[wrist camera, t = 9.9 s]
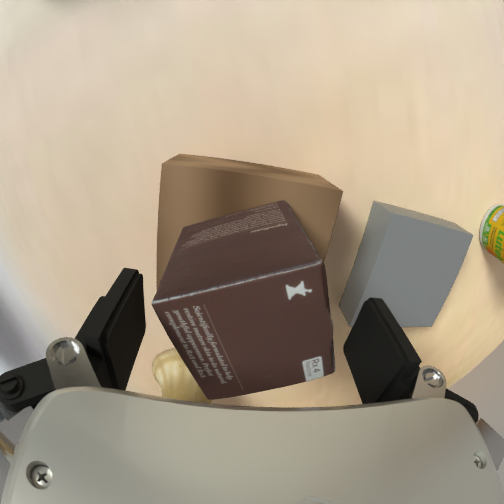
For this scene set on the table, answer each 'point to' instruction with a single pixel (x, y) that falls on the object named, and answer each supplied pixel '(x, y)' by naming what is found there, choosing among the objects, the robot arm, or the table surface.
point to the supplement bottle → (493, 231)
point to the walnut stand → (238, 198)
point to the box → (247, 303)
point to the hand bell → (176, 378)
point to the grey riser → (405, 265)
